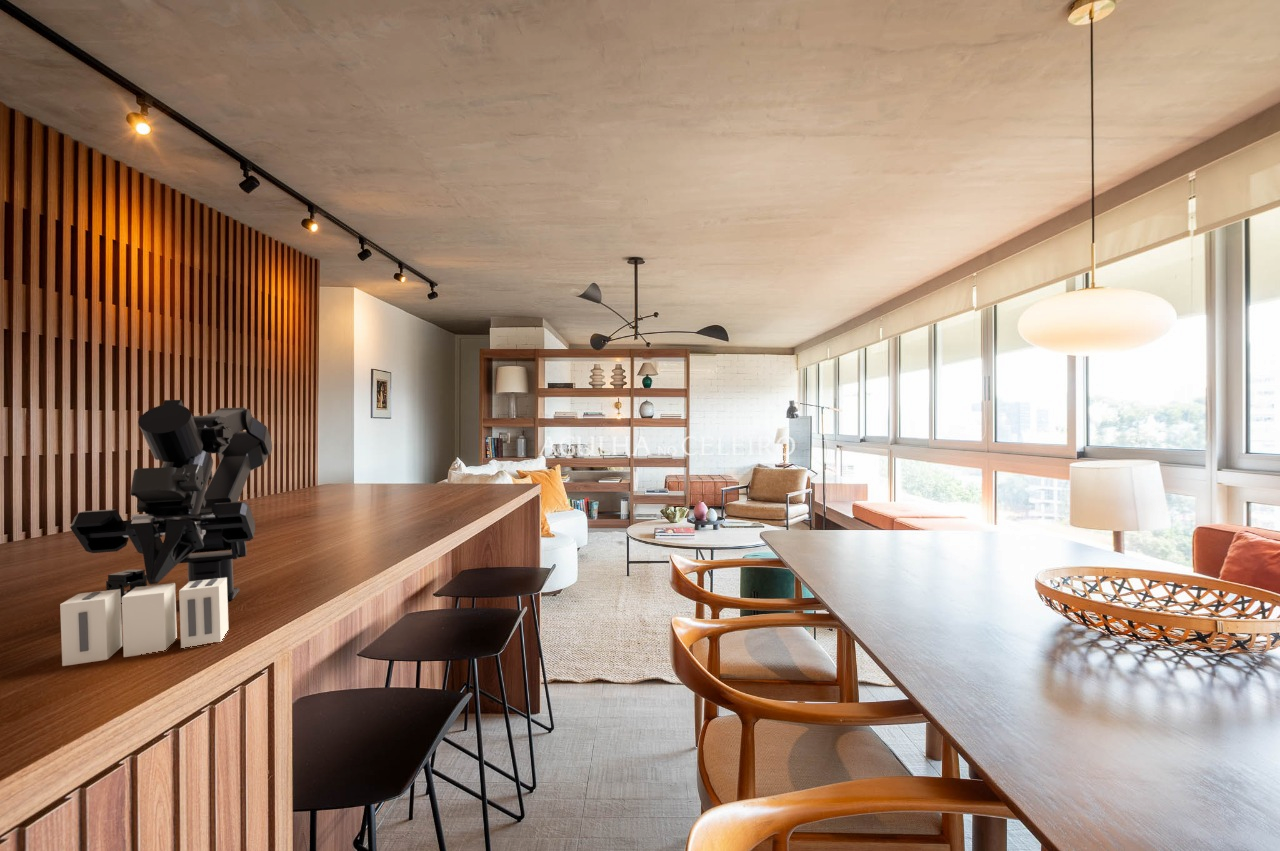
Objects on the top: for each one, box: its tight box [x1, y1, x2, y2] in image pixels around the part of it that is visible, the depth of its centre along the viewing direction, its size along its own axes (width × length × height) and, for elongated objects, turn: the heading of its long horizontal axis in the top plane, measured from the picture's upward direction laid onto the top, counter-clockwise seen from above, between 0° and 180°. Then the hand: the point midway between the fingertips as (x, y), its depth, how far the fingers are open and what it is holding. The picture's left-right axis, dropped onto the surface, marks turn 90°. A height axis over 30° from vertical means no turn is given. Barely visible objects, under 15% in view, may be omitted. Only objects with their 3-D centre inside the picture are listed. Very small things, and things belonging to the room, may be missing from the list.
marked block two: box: [178, 577, 230, 649], centre depth 77 cm, size 5×4×7 cm
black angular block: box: [105, 569, 148, 603], centre depth 99 cm, size 12×7×5 cm, turn 172°
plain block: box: [121, 582, 178, 658], centre depth 75 cm, size 5×4×7 cm
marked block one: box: [59, 589, 123, 667], centre depth 73 cm, size 5×4×7 cm
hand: (152, 582), depth 76 cm, fingers closed
